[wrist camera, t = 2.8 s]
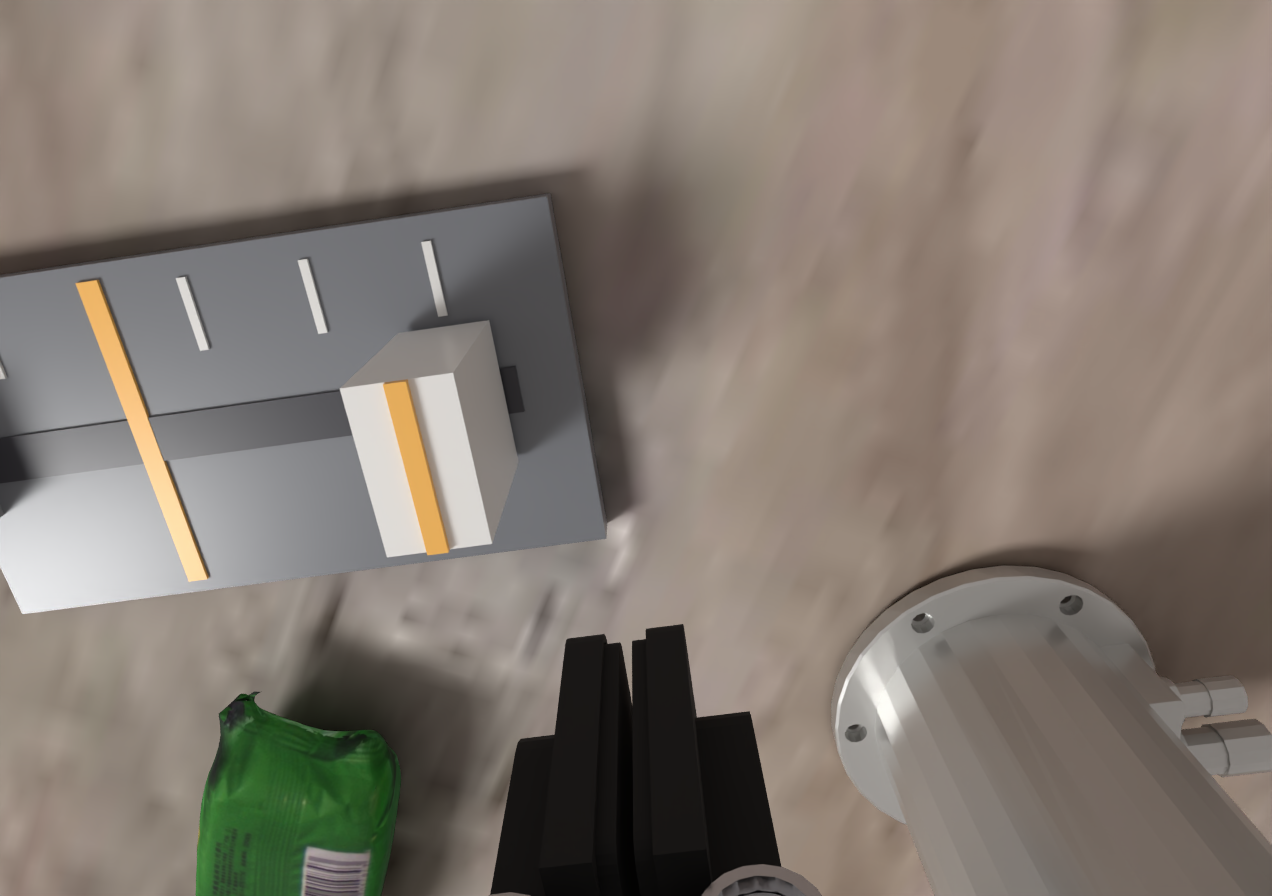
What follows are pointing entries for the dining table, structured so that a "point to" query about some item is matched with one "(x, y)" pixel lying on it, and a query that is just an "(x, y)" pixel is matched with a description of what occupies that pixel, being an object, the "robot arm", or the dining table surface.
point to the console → (266, 402)
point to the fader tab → (433, 438)
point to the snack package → (295, 809)
